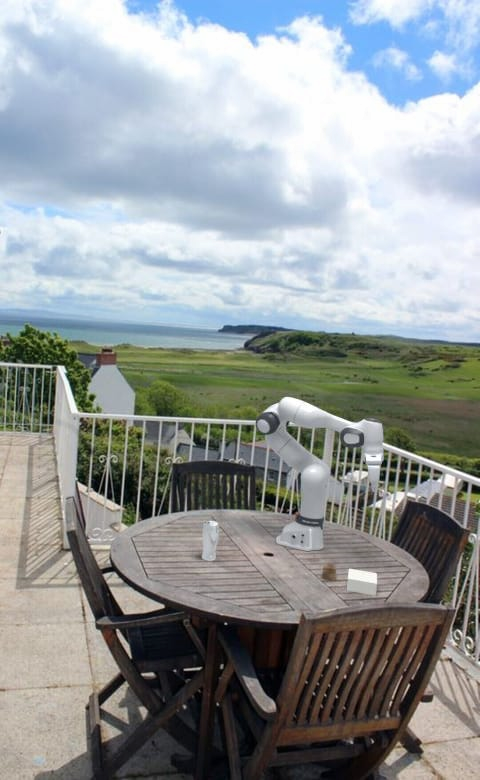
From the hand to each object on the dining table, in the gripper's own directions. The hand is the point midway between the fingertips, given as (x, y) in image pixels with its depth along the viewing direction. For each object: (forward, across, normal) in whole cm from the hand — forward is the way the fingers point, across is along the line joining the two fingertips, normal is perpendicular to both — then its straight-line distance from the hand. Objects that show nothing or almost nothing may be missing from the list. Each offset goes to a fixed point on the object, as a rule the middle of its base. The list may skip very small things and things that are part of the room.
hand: (373, 488), depth 242 cm
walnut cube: (+32, +21, -19) cm, 42 cm away
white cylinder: (+26, +21, -69) cm, 76 cm away
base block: (+33, +25, -6) cm, 42 cm away
